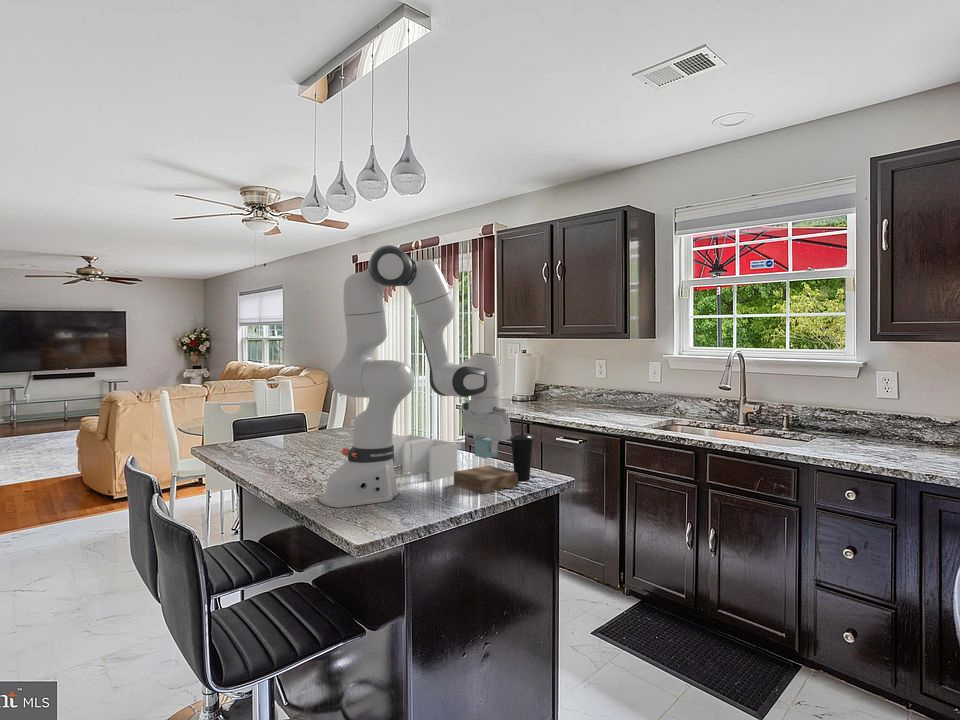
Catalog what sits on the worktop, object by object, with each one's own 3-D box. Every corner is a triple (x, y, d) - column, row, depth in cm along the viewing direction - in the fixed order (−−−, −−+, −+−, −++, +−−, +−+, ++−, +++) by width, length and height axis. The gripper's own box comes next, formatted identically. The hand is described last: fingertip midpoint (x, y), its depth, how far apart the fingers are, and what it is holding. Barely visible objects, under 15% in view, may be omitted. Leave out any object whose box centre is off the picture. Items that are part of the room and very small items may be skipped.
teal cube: (497, 456, 170) (497, 439, 170) (484, 458, 167) (484, 441, 167) (487, 453, 174) (487, 437, 174) (474, 455, 171) (474, 439, 171)
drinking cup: (535, 481, 175) (535, 418, 175) (511, 481, 175) (510, 418, 175) (532, 475, 183) (532, 415, 183) (509, 476, 183) (509, 415, 183)
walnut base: (481, 493, 161) (481, 480, 161) (454, 484, 172) (454, 471, 172) (517, 486, 170) (517, 473, 170) (489, 477, 181) (489, 465, 181)
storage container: (457, 475, 185) (456, 443, 184) (431, 481, 177) (431, 447, 177) (410, 464, 202) (410, 434, 202) (385, 469, 195) (385, 438, 194)
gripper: (515, 408, 164) (516, 454, 164) (474, 402, 180) (474, 444, 181) (499, 409, 160) (499, 457, 160) (458, 403, 176) (458, 447, 177)
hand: (486, 450), depth 171 cm, fingers closed on teal cube, 5 cm apart
